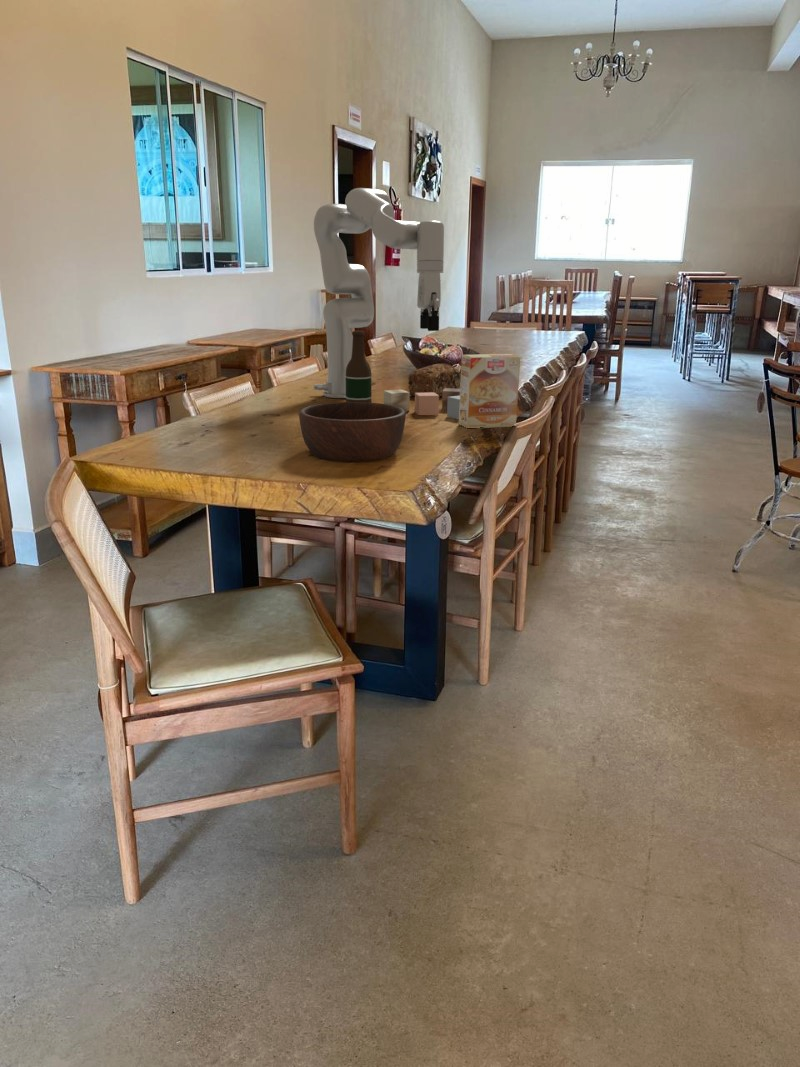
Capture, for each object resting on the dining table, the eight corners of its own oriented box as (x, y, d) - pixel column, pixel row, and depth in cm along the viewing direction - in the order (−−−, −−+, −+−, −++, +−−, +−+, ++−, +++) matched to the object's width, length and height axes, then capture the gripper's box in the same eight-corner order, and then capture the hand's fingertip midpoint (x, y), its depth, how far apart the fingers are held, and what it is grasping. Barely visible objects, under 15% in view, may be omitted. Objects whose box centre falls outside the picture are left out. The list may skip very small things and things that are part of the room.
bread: (435, 390, 284) (436, 361, 281) (461, 393, 278) (462, 364, 275) (406, 396, 269) (407, 366, 266) (433, 399, 264) (434, 369, 260)
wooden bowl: (349, 437, 205) (349, 398, 202) (426, 452, 190) (427, 410, 187) (277, 454, 187) (276, 410, 184) (356, 471, 172) (355, 425, 169)
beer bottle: (373, 410, 242) (373, 330, 234) (369, 415, 234) (369, 332, 227) (347, 410, 242) (347, 329, 235) (343, 414, 235) (342, 331, 227)
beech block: (391, 413, 239) (391, 393, 237) (383, 410, 244) (383, 390, 242) (409, 412, 241) (409, 392, 239) (401, 408, 246) (401, 389, 244)
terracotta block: (418, 416, 235) (419, 395, 233) (414, 412, 241) (414, 392, 239) (438, 415, 236) (438, 395, 234) (433, 412, 242) (434, 392, 240)
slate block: (460, 420, 230) (460, 399, 228) (446, 417, 234) (447, 396, 232) (475, 418, 233) (476, 397, 231) (462, 415, 238) (463, 395, 236)
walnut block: (441, 410, 245) (442, 391, 243) (443, 407, 250) (444, 388, 248) (461, 411, 244) (462, 391, 242) (462, 408, 249) (463, 388, 247)
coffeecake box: (467, 429, 217) (470, 357, 211) (457, 424, 223) (460, 354, 217) (517, 426, 221) (521, 355, 215) (506, 422, 228) (510, 353, 222)
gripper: (410, 267, 232) (410, 327, 238) (424, 267, 216) (423, 331, 221) (435, 267, 234) (434, 327, 239) (450, 267, 217) (449, 331, 223)
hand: (429, 329), depth 230 cm, fingers open, 9 cm apart
